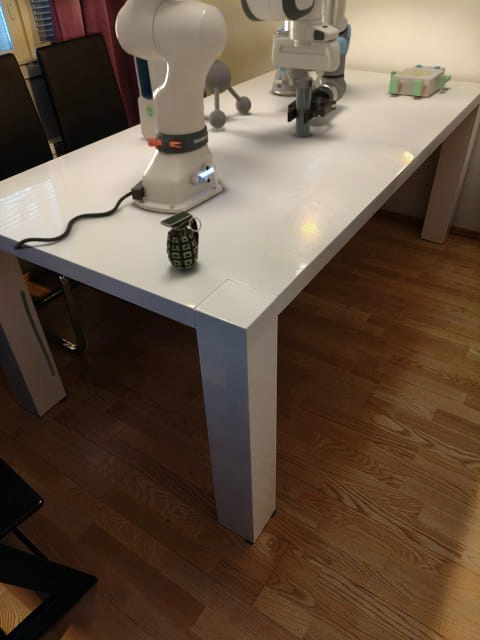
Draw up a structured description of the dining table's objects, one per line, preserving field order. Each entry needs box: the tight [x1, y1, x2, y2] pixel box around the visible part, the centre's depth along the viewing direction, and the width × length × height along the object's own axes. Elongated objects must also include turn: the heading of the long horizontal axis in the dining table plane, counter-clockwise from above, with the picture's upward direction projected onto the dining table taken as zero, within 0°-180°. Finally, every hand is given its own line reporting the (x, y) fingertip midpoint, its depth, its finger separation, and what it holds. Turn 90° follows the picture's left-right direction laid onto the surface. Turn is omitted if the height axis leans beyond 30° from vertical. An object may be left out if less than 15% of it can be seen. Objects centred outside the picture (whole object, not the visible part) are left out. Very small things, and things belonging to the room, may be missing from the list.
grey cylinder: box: [295, 87, 312, 138], centre depth 144 cm, size 4×4×15 cm
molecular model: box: [203, 59, 252, 129], centre depth 157 cm, size 24×22×30 cm
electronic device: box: [133, 56, 168, 140], centre depth 143 cm, size 12×8×30 cm, turn 47°
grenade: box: [159, 211, 202, 271], centre depth 88 cm, size 7×6×10 cm
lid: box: [295, 76, 314, 89], centre depth 140 cm, size 5×5×2 cm
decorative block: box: [388, 64, 452, 98], centre depth 182 cm, size 26×6×20 cm
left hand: (303, 86), depth 141 cm, fingers open, 6 cm apart
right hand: (296, 118), depth 141 cm, fingers closed on grey cylinder, 4 cm apart
